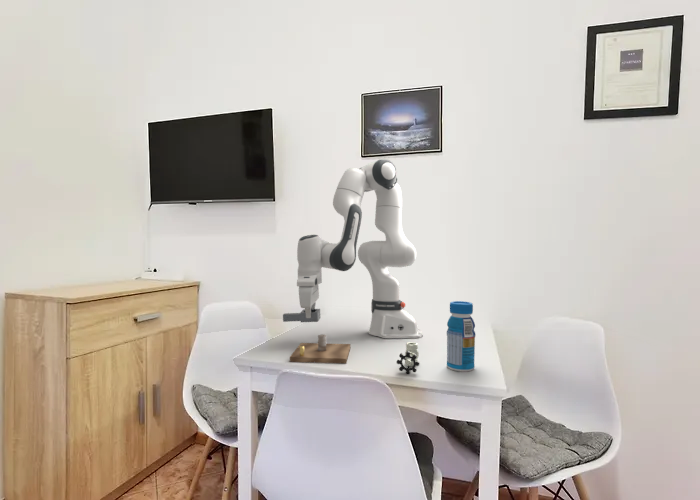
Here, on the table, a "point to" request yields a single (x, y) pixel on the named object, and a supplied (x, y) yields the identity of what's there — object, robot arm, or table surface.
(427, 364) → the table surface
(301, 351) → the dowel
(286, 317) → the square loop paddle
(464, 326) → the beverage bottle
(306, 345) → the base
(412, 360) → the valve
